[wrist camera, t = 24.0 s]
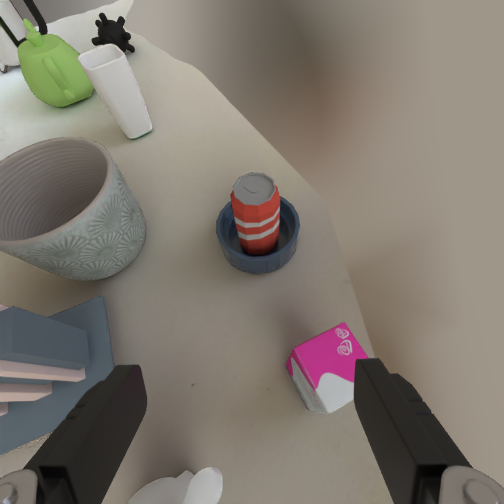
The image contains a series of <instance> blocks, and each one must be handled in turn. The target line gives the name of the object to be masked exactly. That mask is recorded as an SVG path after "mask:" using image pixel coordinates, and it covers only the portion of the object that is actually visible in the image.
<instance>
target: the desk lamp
mask: <svg viewBox="0 0 504 504" xmlns="http://www.w3.org/2000/svg"><path fill="white" fill-rule="evenodd" d="M114 368H115V365H114V358H113V352H112V345H111V338H110V332H109V325H108V318H107V311H106V305H105V298H104V296H103V295H102V296H99V297H97V298H94V299H92V300H89V301H87V302H84V303H82V304H79V305H77V306H74V307H72V308H69V309H67V310H64V311H62V312H59V313H57V314H54V315H52V316H49V317H44V316H41V315H38V314H35V313H32V312H29V311H27V310H24V309H21V308H18V307H15V306H12V307H8V306H5V305H2V304H0V455H2V454H4V453H7V452H9V451H11V450H13V449H15V448H17V447H20V446H22V445H24V444H26V443H28V442H30V441H33V440H35V439H37V438H39V437H41V436H43V435H46V434H48V433H50V432H52V431H54V430H55V429H56V428H57V427H58V425H59V424H60V423H61V422H62V421H63V420H65V418H66V416H67V414H68V413H69V412H70V411H71V409H72V408H74V407H75V405H76V403H77V402H78V401H79V400H80V398H81V397H82V396H83V395H84V394H85V392H86V391H88V390H89V389H90V388H92V387H93V386H94V385H95V384H97V383H98V382H99V381H104V380H105V379H106V378H107V376H108V375H109V374H110V373H111V371H112V370H113V369H114Z"/></svg>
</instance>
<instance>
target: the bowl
mask: <svg viewBox="0 0 504 504" xmlns="http://www.w3.org/2000/svg"><path fill="white" fill-rule="evenodd" d="M299 229H300V222H299V216H298V214H297V212H296V210H295V209H294V207H293V205H292V204H290V203H289V202H288V201H287V200H286V199H285V198H283V197H280V218H279V240H278V242H277V243H276V245H275V247H274V249H273V250H271V251H269V252H267V253H265V254H263V255H259V254H249V253H248V252H247V251H246V250H245V249H243V248H242V247H241V246H240V241H239V236H238V232H237V227H236V222H235V218H234V213H233V208H232V202H231V201H230V202H228V203H227V204H226V206H225V207H224V208H223V209H222V210H221V212H220V214H219V216H218V219H217V221H216V233H217V236H218V239H219V242H220V245H221V248H222V250H223V253H224V256H225V257H226V259H227V260H228V261H229V262H230V263H231V264H232V265H233V266H235V267H236V268H238V269H240V270H241V271H244V272H249V273H253V274H258V273H267V272H271V271H274V270H277V269H279V268H281V267H282V266H283V265H285V264H286V263H287V262H288V261H289V260H290V259H291V257H292V256H293V254H294V253H295V250H296V246H297V241H298V235H299Z"/></svg>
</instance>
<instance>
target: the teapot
mask: <svg viewBox="0 0 504 504" xmlns="http://www.w3.org/2000/svg"><path fill="white" fill-rule="evenodd" d="M23 24H24V26H25V27H26V29H27V31H28V32H29V33H28V34H27V35H26V36H25V38H26V39H27V40H26V41H24V42H23V43H21V44H20V45H19V47H18V50H17V52H18V58H19V62H20V66H21V70H22V73H23V76H24V78H25V80H26V82H27V84H28V86H29V88H30V89H31V91H32V92H33V94H34V95H35V96H36V97H37V98H38V99H40V100H41V101H43V102H45V103H47V104H50V105H52V106H58V107H59V108H63V107H65V106H67V105H69V104H72V103H75V102H77V101H80V100H82V99H86V98H89V97H90V96H91V95H92V94H91V93H92V92H93V90H94V87H93V85H92V83H91V82H90V80H89V78H88V77H87V75H86V73H85V71H84V70H83V68H82V66H81V65H80V63H79V61H78V56H79V55H80V54H79V53H78V52H77V51H76V50H75V49H74V48H72V47H71V46H70V45H69V44H68V43H66V42H65V41H64V40H63V39H61V38H60V37H59V36H57V35H54V34H46V35H41V34H40V32H37V31H36V29H35V28H34V27H33V25H32V24H31V22H30V21H29V20H27V19H24V20H23Z"/></svg>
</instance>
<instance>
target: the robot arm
mask: <svg viewBox="0 0 504 504" xmlns="http://www.w3.org/2000/svg"><path fill="white" fill-rule="evenodd" d="M354 403H355V407H356V411H357V414H358V416H359V419H360V421H361V424H362V426H363V429H364V431H365V433H366V436H367V438H368V441H369V443H370V446H371V448H372V451H373V453H374V456H375V458H376V460H377V463H378V465H379V468H380V470H381V473H382V475H383V478H384V480H385V483H386V485H387V487H388V490H389V492H390V495H391V497H392V500H393V502H394V504H504V488H503V487H502V486H501V485H500V484H499V483H497V482H496V481H495V480H493V479H492V478H490V477H489V476H487V475H486V474H484V473H482V472H480V471H478V470H476V469H473V467H472V466H471V465H470V464H469V462H468V461H467V459H466V458H465V457H464V455H463V454H462V453H461V451H460V450H459V449H458V447H457V446H456V444H455V443H454V442H453V440H452V439H451V438H450V436H449V435H448V433H447V432H446V431H445V429H444V428H443V427H442V425H441V424H440V422H439V421H438V420H437V418H436V417H435V416H434V414H432V413H431V410H430V409H429V407H428V406H427V405H426V403H425V402H423V401H422V398H421V396H420V395H419V394H418V392H417V391H416V389H415V388H414V387H413V386H412V384H410V383H409V382H407V380H405V379H404V378H403V377H401V376H400V375H399V374H389V372H388V370H387V369H386V368H385V366H384V364H383V363H382V361H381V360H380V359H379V358H369V359H356V361H355V374H354ZM146 408H147V395H146V390H145V385H144V381H143V376H142V371H141V368H140V366H139V365H117V366H116V367H115V368H114V369H113V370H112V371H111V373H110V374H109V375H108V376H107V378H106V379H105V380H104V381H99V382H98V383H97V384H95V385H94V386H93V387H92V388H90V389H89V390H88V391H86V392H85V394H84V395H83V396H82V397H81V398H80V400H79V401H78V402H77V403H76V405H75V407H74V408H72V409H71V411H70V412H69V413H68V414H67V416H66V418H65V420H63V421H62V422H61V423H60V424H59V425H58V427H57V428H56V429H55V430H54V432H53V433H52V434H51V435H50V436H49V438H48V439H47V440H46V441H45V443H44V444H43V445H42V446H41V447H40V449H39V450H38V451H37V452H36V454H35V455H34V456H33V457H32V458H31V460H30V461H29V462H28V463H27V465H26V466H25V467H24V468H23V469H22V470H18V471H15V472H12V473H9V474H7V475H5V476H3V477H2V478H0V504H101V503H102V501H103V499H104V497H105V495H106V493H107V491H108V489H109V487H110V485H111V482H112V480H113V478H114V476H115V474H116V472H117V470H118V468H119V466H120V464H121V462H122V460H123V458H124V456H125V454H126V452H127V450H128V448H129V446H130V444H131V442H132V440H133V438H134V436H135V434H136V432H137V430H138V427H139V425H140V423H141V421H142V419H143V417H144V415H145V412H146Z"/></svg>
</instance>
